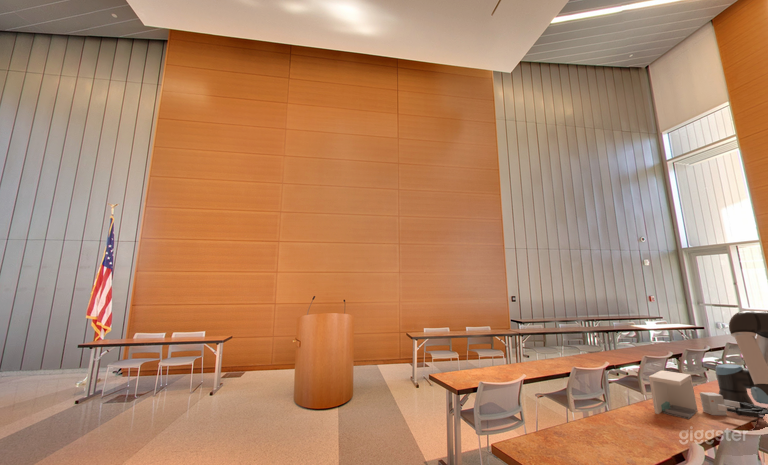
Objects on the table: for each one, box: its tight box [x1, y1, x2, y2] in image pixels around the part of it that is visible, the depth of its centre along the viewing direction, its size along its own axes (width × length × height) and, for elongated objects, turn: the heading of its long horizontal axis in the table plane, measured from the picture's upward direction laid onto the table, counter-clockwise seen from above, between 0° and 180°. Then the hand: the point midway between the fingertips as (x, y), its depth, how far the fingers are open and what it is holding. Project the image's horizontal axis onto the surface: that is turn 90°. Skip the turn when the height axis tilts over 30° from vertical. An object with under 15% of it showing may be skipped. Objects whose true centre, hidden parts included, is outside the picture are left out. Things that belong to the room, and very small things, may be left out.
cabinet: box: [648, 369, 699, 420], centre depth 179 cm, size 14×24×20 cm, turn 125°
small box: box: [699, 391, 728, 416], centre depth 176 cm, size 8×6×10 cm
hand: (720, 404), depth 173 cm, fingers open, 13 cm apart
